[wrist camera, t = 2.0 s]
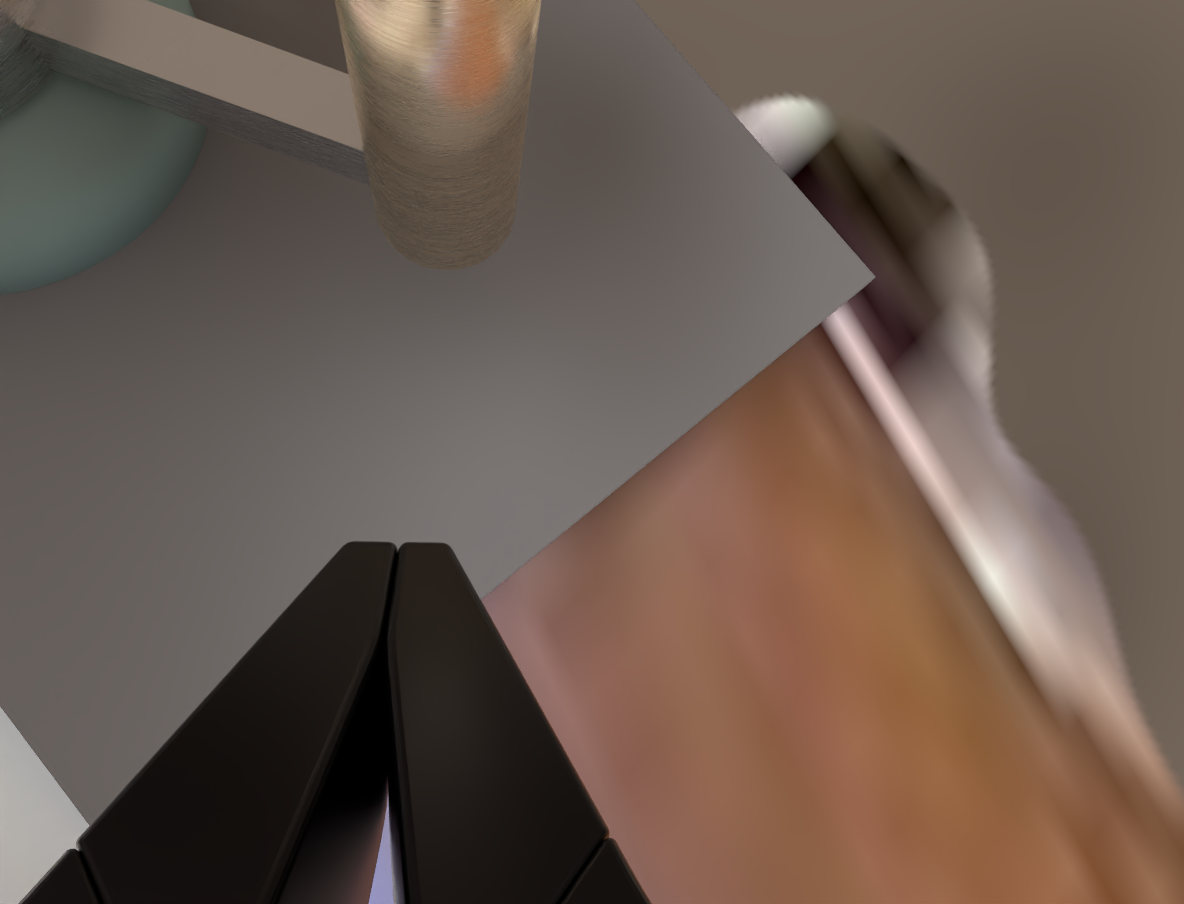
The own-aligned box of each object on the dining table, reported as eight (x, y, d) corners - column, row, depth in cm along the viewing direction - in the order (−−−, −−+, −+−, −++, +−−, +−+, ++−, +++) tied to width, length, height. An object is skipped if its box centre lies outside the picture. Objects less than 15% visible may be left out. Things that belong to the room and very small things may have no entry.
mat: (142, 875, 18) (132, 882, 18) (-433, 109, 20) (-460, 92, 19) (864, 286, 22) (875, 276, 22) (349, -307, 24) (346, -331, 23)
